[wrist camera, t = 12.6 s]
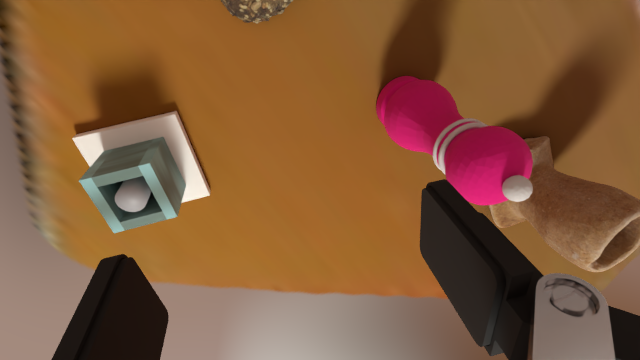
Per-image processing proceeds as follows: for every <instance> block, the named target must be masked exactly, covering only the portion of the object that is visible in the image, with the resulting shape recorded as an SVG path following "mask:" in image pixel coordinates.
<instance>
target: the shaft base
mask: <svg viewBox="0 0 640 360" xmlns="http://www.w3.org/2000/svg"><path fill="white" fill-rule="evenodd" d="M160 137H164V139H165V141H166V143H167V145H168V147H169V150H170V152H171V154H172V156H173V158H174V160H175V162H176V164H177V167H178V169H179V171H180V173H181V175H182V177H183V179H184V181H185V184H186V188H185V191H184V195H183V198H182V202H186V201H190V200H194V199H198V198H202V197H206V196H210V192H211V191H210V188H209V186H208V184H207V181H206V179H205V176H204V174H203V172H202V169H201V167H200V165H199V162H198V160H197V158H196V155H195V153H194V151H193V148H192V146H191V143H190V141H189V139H188V136H187V134H186V132H185V129H184V127H183V125H182V122H181V120H180V118H179V115H178V113H177V111H174V112H170V113H166V114H161V115H157V116H153V117H148V118H144V119H140V120H136V121H131V122H127V123H123V124H119V125H114V126H110V127H106V128H101V129H97V130H93V131H89V132H84V133H80V134H76V135H75V136H74V137H73V138H72V139H73V141H74V142H75V144H76V146H77V147H78V149H79V150H80V152H81V154H82V155H83V157H84V158H85V160H86V161H87V163H88V165H89V166H90V167H91V166H92V164H93V163H94V162H95V161H96V160H97V158H98V157H99V156H100V155H101V154H102V152H103V151H106V150H110V149H114V148H118V147H122V146H127V145H131V144H135V143H139V142H143V141H147V140H151V139H156V138H160ZM151 192H152V191H151V189H150V187H149V185H148V184H147V182H146V180H145V178H144V176H140V177H136V178H132V179H128V180H124V181H123V183H122V185H121V186H120V188H119V190H118V191H117V193H116V195H115V202H116V204H117V205H118V207H120V208H121V209H123V210H125V211H128V212H137V211H140V210H142V209H143V208H144V207H145V206H146V204H147V201H148V199H149V197H150V194H151ZM182 202H181V203H182Z"/></svg>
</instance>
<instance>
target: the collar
mask: <svg viewBox="0 0 640 360" xmlns="http://www.w3.org/2000/svg"><path fill="white" fill-rule="evenodd" d="M140 176H144V178H145V180H146V182H147V184H148V185H149V187H150V189H151V191H152V192H151V194H150V197H149V199H148V201H147V204H146V206H145V207H144V208H143V209H142V210H140V211H137V212H128V211H125V210H123V209H121V208H120V207H118V205H117V204H116V202H115V195H116V193H117V191H118V190H119V188H120V186H121V185H122V183H123V181H124V180H128V179H132V178H136V177H140ZM79 181H80V183H81V184H82V186H83V187H84V189H85V190H86V192H87V193H88V195H89V196H90V198H91V199H92V201H93V202H94V204H95V205H96V207H97V208H98V210H99V211H100V213H101V214H102V216H103V217H104V219H105V220H106V222H107V223H108V225H109V226H110V228H111V229H112V231H113V232H114V233H117V232H121V231H125V230H128V229H132V228H136V227H140V226H144V225H148V224H151V223H155V222H159V221H163V220H167V219H170V218H174V217H177V216H178V213H179V209H180V205H181V202H182V198H183V195H184V191H185V188H186V184H185V181H184V179H183V177H182V175H181V173H180V171H179V169H178V167H177V164H176V162H175V160H174V158H173V156H172V154H171V152H170V150H169V147H168V145H167V143H166V141H165V139H164V137H160V138H156V139H151V140H147V141H143V142H139V143H135V144H131V145H127V146H122V147H118V148H114V149H110V150H106V151H103V152H102V154H101V155H100V156H99V157H98V158H97V160H96V161H95V162H94V163H93V164H92V166H91V167H90V168H89V169H88V170H87V172H86V173H85V174H84V175H83V176H82V178H81V179H80V180H79Z"/></svg>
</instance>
